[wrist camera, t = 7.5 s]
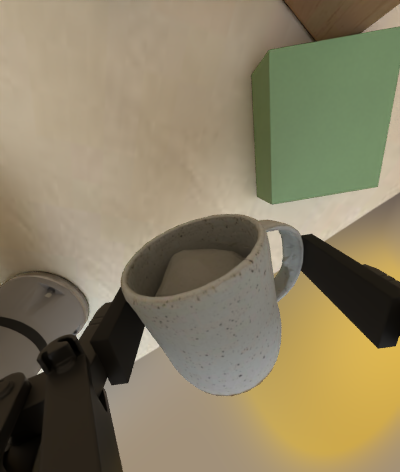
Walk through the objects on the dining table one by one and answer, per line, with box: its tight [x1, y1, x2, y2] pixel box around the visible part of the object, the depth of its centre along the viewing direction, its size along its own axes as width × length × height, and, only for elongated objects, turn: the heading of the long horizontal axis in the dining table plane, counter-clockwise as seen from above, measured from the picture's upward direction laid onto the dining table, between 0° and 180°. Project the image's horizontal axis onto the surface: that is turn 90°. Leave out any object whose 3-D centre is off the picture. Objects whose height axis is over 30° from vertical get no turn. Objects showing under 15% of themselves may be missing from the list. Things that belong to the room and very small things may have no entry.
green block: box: [251, 27, 400, 204], centre depth 25 cm, size 14×16×6 cm
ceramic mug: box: [121, 214, 304, 396], centre depth 11 cm, size 11×8×8 cm
